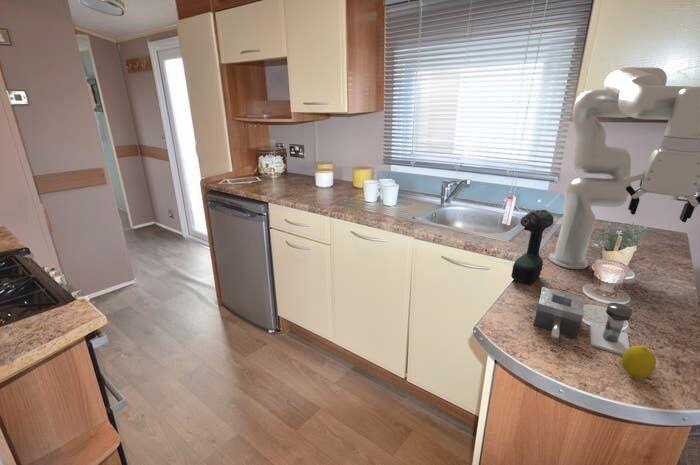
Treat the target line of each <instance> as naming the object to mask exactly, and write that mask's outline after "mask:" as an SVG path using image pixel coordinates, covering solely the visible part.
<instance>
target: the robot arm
mask: <svg viewBox="0 0 700 465" xmlns="http://www.w3.org/2000/svg"><path fill="white" fill-rule="evenodd" d="M667 81H668V77H667V74H666V71H665V70H664V69H661V68H659V67H648V66H647V67H641V66H639V67H622V68H618V69H616V70H614V71H612V72H611V73H610V74H609V75H608V76H606V79H605V81H604V85H603V87H604V89H592V90H586V91H584V92H582V93H580V94H579V95H578V96H577V98H576V99H575V102H574V105H573V110H572V117H573V118H572V119H573V124H574V129H575V148H574V162H573V164H574V166H573V167H574V169H575V171H576V172H577V173H580V174H583V175H594V176H596V175H597V176H598V175H601V176H606V178H605V177H604V178H601V177H578V178H575V179H573V180H572V181H570V182H569V184H568V186H567V190H566V203H565V209H564V213H563V219H562V221H561V226H560V231H559V234H558V238H557V243H556V247H555V250H554V252H550V253H549V255H548V259H549V260H550V262H552V263H553V264H555V265H557V266H560V267H562V268H565V269H566V268H567V269H571V270H584V269H587V268H588V266H589V262H588V260H587V259H586V254H587V251H588V248H589V246H590V245H589V244H590V241H591V237H592V234H593V231H594V227H595V223H596V216H595V214H594V212H593V210H592V207H603V208H604V207H606V208H618V207H621V206H623V205H624V204H625V203H626V201H628V197H629V195H630V196H631V198H630V201H629V205H628V207H627V210H628V211H629V213H630V214H631V215H632V216H633V215H636V214H637V213H636V212H637V210H638V206H639V204H640V197H641V196H643V195H645V194H646V193H650V194H655V195H656V194H657V195H663V196H673V197H681V198H686V200H687V202H686V203H684V205H683V208H682V210H681V213H680V215H679V220H680V221H681V222H682V223H687V220H688V219H691V218H692V215H693V212H695V211H694V210H695V208H696V207H698V206H699V205H700V195H698V196H695V195H696V194H697V192H698V190H699V187H700V86H691V85H690V86H689V85H687V86H686V85H685V86H684V85H683V86H681V85H680V86H679V85H667ZM629 117H630V118H633V119H637V120H665V121H667V125H666V127H665V131H664V132H663V137H662V139H661V142H660V145H659V148H655V149H654V150H653V151H652V153H651V155H650V157H649V159H648V160H647V163H646V165H645V168H644V170H643V172H641V173H638V174H634V175H631V170H632V169H631V166H632V158H631V154H630V152H629V150H628V149H626V148H624V147H621V146H607V144H606V139H607V138H606V137H607V132H606V129H605V127H604V126H603V124H602V122H600V121H599V119H597V118H622V119H623V118H629ZM636 181H639V187H638V188H636V189H634V188H633V186H632V184H631V183H634V182H636Z"/></svg>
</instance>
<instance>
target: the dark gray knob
mask: <svg viewBox="0 0 700 465" xmlns="http://www.w3.org/2000/svg"><path fill="white" fill-rule="evenodd" d="M605 313H606V314H607V316H608V317H607V320H606V323H605V326H604V327H605V329H604V333H603V336H602V337H603V338H604V339H605V340H607V341H609V342H618V339H619V336H620V333H621V332H622V330H623V327H624V323H625V322H626V321H629V320H630V319H631V317H632V313H633V309H632V308H631V307H629V306H627V305H625V304H623V303H619V302H609V303H607V306H606V310H605Z"/></svg>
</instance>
